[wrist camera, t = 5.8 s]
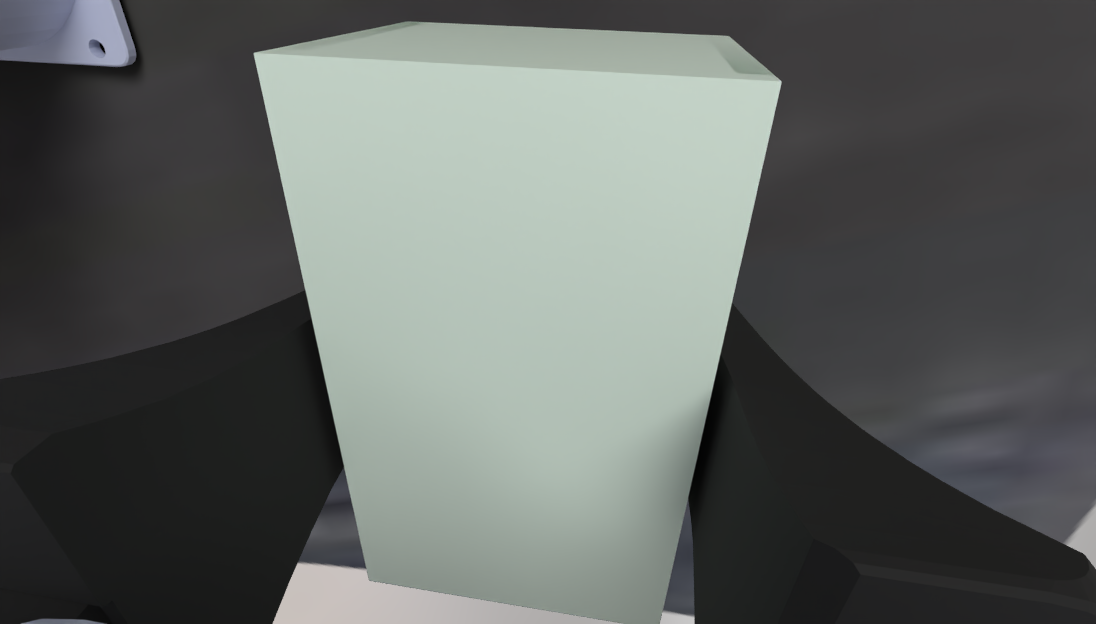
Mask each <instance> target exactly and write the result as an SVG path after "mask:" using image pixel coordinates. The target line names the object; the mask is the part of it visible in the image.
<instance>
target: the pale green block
mask: <svg viewBox="0 0 1096 624" xmlns="http://www.w3.org/2000/svg"><path fill="white" fill-rule="evenodd" d="M254 57H255V61H256V66H257V71H258V75H259V80H260V84H261V89H262V93H263V98H264V103H265V107H266V112H267V116H268V121H269V125H270V130H271V135H272V139H273V144H274V148H275V153H276V157H277V162H278V167H279V171H280V176H281V180H282V185H283V189H284V194H285V199H286V203H287V208H288V212H289V217H290V221H291V226H292V231H293V235H294V240H295V244H296V249H297V253H298V258H299V263H300V267H301V272H302V276H303V281H304V285H305V290H306V295H307V299H308V304H309V308H310V313H311V317H312V322H313V327H314V331H315V336H316V340H317V345H318V349H319V354H320V359H321V363H322V368H323V372H324V377H325V381H326V386H327V391H328V395H329V400H330V404H331V409H332V413H333V418H334V423H335V427H336V432H337V436H338V441H339V445H340V450H341V455H342V459H343V464H344V468H345V473H346V477H347V482H348V487H349V491H350V496H351V500H352V505H353V509H354V514H355V519H356V523H357V528H358V532H359V537H360V541H361V546H362V551H363V555H364V560H365V564H366V569H367V573H368V578H369V580H370V581H374V582H380V583H386V584H392V585H398V586H404V587H410V588H416V589H422V590H428V591H434V592H439V593H445V594H452V595H457V596H464V597H469V598H476V599H481V600H487V601H493V602H499V603H505V604H510V605H516V606H522V607H529V608H534V609H541V610H546V611H552V612H558V613H564V614H570V615H576V616H581V617H587V618H593V619H599V620H606V621H612V622H618V623H623V624H660V620H661V616H662V611H663V607H664V603H665V598H666V594H667V589H668V585H669V580H670V576H671V571H672V567H673V562H674V558H675V554H676V549H677V545H678V540H679V536H680V531H681V527H682V522H683V518H684V514H685V509H686V505H687V500H688V496H689V491H690V487H691V482H692V478H693V474H694V469H695V465H696V460H697V456H698V451H699V447H700V442H701V438H702V434H703V429H704V425H705V420H706V416H707V411H708V407H709V402H710V398H711V393H712V389H713V385H714V380H715V376H716V371H717V367H718V362H719V358H720V353H721V349H722V345H723V340H724V336H725V331H726V327H727V322H728V318H729V313H730V309H731V305H732V300H733V296H734V291H735V287H736V282H737V278H738V273H739V269H740V265H741V260H742V256H743V251H744V247H745V242H746V238H747V233H748V229H749V224H750V220H751V216H752V211H753V207H754V202H755V198H756V193H757V189H758V184H759V180H760V176H761V171H762V167H763V162H764V158H765V153H766V149H767V144H768V140H769V136H770V131H771V127H772V122H773V118H774V113H775V109H776V104H777V100H778V96H779V91H780V87H781V82H782V81H780V80H779V79H778V78H777V77H776V76H775V75H773V74H772V73H771V72H770V71H769V70H768V69H766V68H765V67H764V66H763V65H762V64H761V63H759V62H758V61H757V60H756V59H755V58H754V57H752V56H751V55H750V54H749V53H748V52H747V51H745V50H744V49H743V48H742V47H741V46H740V45H738V44H737V43H736V42H735V41H734V40H733V39H731V38H730V37H729V36H715V35H693V34H671V33H649V32H627V31H605V30H583V29H561V28H539V27H517V26H495V25H473V24H451V23H429V22H403V23H398V24H393V25H388V26H383V27H378V28H374V29H369V30H364V31H359V32H354V33H349V34H344V35H339V36H334V37H330V38H325V39H320V40H315V41H310V42H305V43H300V44H295V45H290V46H286V47H281V48H276V49H271V50H266V51H261V52H256V53H254Z"/></svg>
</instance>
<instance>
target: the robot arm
mask: <svg viewBox="0 0 1096 624" xmlns="http://www.w3.org/2000/svg"><path fill="white" fill-rule="evenodd" d="M99 42H100V43H101V44H102V45H103V47H104V48H105V53H106V54H105V53H104V52H103V51H102V50H101V48H100V44H99ZM0 60H7V61H25V62H42V63H59V64H76V65H93V66H110V67H122V66H127V65H132V64H133V63H134V62H135V60H136V50H135V46H134V43H133V40H132V37H131V34H130V31H129V28H128V25H127V22H126V19H125V16H124V13H123V10H122V7H121V4H120V1H119V0H0ZM343 467H344V464H343V459H342V455H341V450H340V445H339V441H338V436H337V432H336V427H335V423H334V418H333V413H332V409H331V404H330V400H329V395H328V391H327V386H326V381H325V377H324V372H323V368H322V363H321V359H320V354H319V349H318V345H317V340H316V336H315V331H314V327H313V322H312V317H311V313H310V308H309V304H308V299H307V295H306V290H305V291H303V292H300V293H298V294H296V295H294V296H292V297H289V298H287V299H285V300H283V301H280V302H278V303H275V304H273V305H271V306H268V307H266V308H264V309H261V310H259V311H256V312H254V313H252V314H249V315H247V316H244V317H242V318H240V319H237V320H234V321H232V322H229V323H227V324H224V325H221V326H218V327H216V328H213V329H210V330H207V331H204V332H201V333H198V334H195V335H192V336H189V337H186V338H182V339H179V340H176V341H173V342H169V343H166V344H162V345H158V346H154V347H151V348H147V349H143V350H139V351H135V352H132V353H128V354H124V355H120V356H116V357H113V358H109V359H104V360H100V361H95V362H91V363H86V364H81V365H77V366H72V367H67V368H62V369H56V370H51V371H46V372H40V373H35V374H29V375H23V376H17V377H11V378H5V379H0V624H272V623H273V621H274V618H275V616H276V613H277V611H278V608H279V606H280V603H281V601H282V599H283V596H284V594H285V591H286V589H287V586H288V583H289V581H290V579H291V577H292V574H293V572H294V570H295V567H296V565H297V563H298V561H299V558H300V556H301V554H302V551H303V549H304V547H305V545H306V542H307V540H308V538H309V535H310V533H311V531H312V529H313V527H314V525H315V522H316V520H317V518H318V516H319V514H320V512H321V510H322V508H323V506H324V503H325V501H326V499H327V497H328V495H329V493H330V491H331V489H332V487H333V485H334V483H335V482H336V480H337V478H338V476H339V474H340V473H341V471H342V469H343ZM688 499H689V507H690V515H691V523H692V535H693V557H694V605H695V624H1096V569H1095V568H1094V566H1093V565H1092V564H1091V562H1090V561H1089V560H1088V559H1087V557H1086V556H1085V555H1084V554H1083V553H1081V552H1078V551H1077V550H1074V549H1073V548H1070V547H1069V546H1066V545H1064V544H1062V543H1060V542H1058V541H1056V540H1054V539H1052V538H1050V537H1048V536H1046V535H1044V534H1042V533H1040V532H1038V531H1036V530H1034V529H1032V528H1030V527H1028V526H1026V525H1024V524H1021V523H1019V522H1017V521H1015V520H1013V519H1011V518H1009V517H1007V516H1005V515H1003V514H1001V513H999V512H997V511H995V510H993V509H991V508H989V507H987V506H986V505H984V504H982V503H980V502H978V501H976V500H975V499H973V498H971V497H969V496H968V495H966V494H964V493H962V492H960V491H959V490H957V489H955V488H953V487H952V486H950V485H948V484H946V483H944V482H943V481H941V480H939V479H938V478H936V477H934V476H933V475H931V474H929V473H928V472H926V471H924V470H923V469H921V468H919V467H918V466H916V465H914V464H913V463H911V462H910V461H908V460H907V459H905V458H904V457H902V456H901V455H899V454H898V453H896V452H895V451H893V450H892V449H890V448H889V447H887V446H886V445H884V444H883V443H881V442H880V441H878V440H877V439H875V438H874V437H872V436H871V435H870V434H868V433H867V432H865V431H864V430H863V429H861V428H860V427H859V426H857V425H856V424H855V423H853V422H852V421H851V420H849V419H848V418H847V417H846V416H844V415H843V414H842V413H841V412H839V411H838V410H837V409H836V408H834V407H833V406H832V405H831V404H829V403H828V402H827V401H826V400H824V399H823V398H822V397H821V396H820V395H819V394H817V393H816V392H815V391H814V390H813V389H812V388H811V387H810V386H809V385H808V384H807V383H805V382H804V381H803V380H802V379H801V378H800V377H799V376H798V375H797V374H796V373H795V372H794V371H793V370H792V369H791V368H790V367H789V366H788V365H787V364H786V363H785V362H784V361H783V360H782V359H781V358H780V357H779V356H778V355H777V354H776V353H775V352H774V351H773V350H772V349H771V348H770V347H769V345H768V344H767V343H766V342H765V341H764V340H763V339H762V338H761V337H760V335H759V334H758V333H757V332H756V331H755V330H754V329H753V327H752V326H751V325H750V324H749V323H748V321H747V320H746V319H745V318H744V317H743V316H742V314H741V313H740V312H739V311H738V310H737V308H736V307H735V306H734V305H733V304H732V305H731V309H730V313H729V318H728V322H727V327H726V331H725V336H724V340H723V345H722V349H721V353H720V358H719V362H718V367H717V371H716V376H715V380H714V385H713V389H712V393H711V398H710V402H709V407H708V411H707V416H706V420H705V425H704V429H703V434H702V438H701V442H700V447H699V451H698V456H697V460H696V465H695V469H694V474H693V478H692V482H691V487H690V491H689V496H688Z"/></svg>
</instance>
